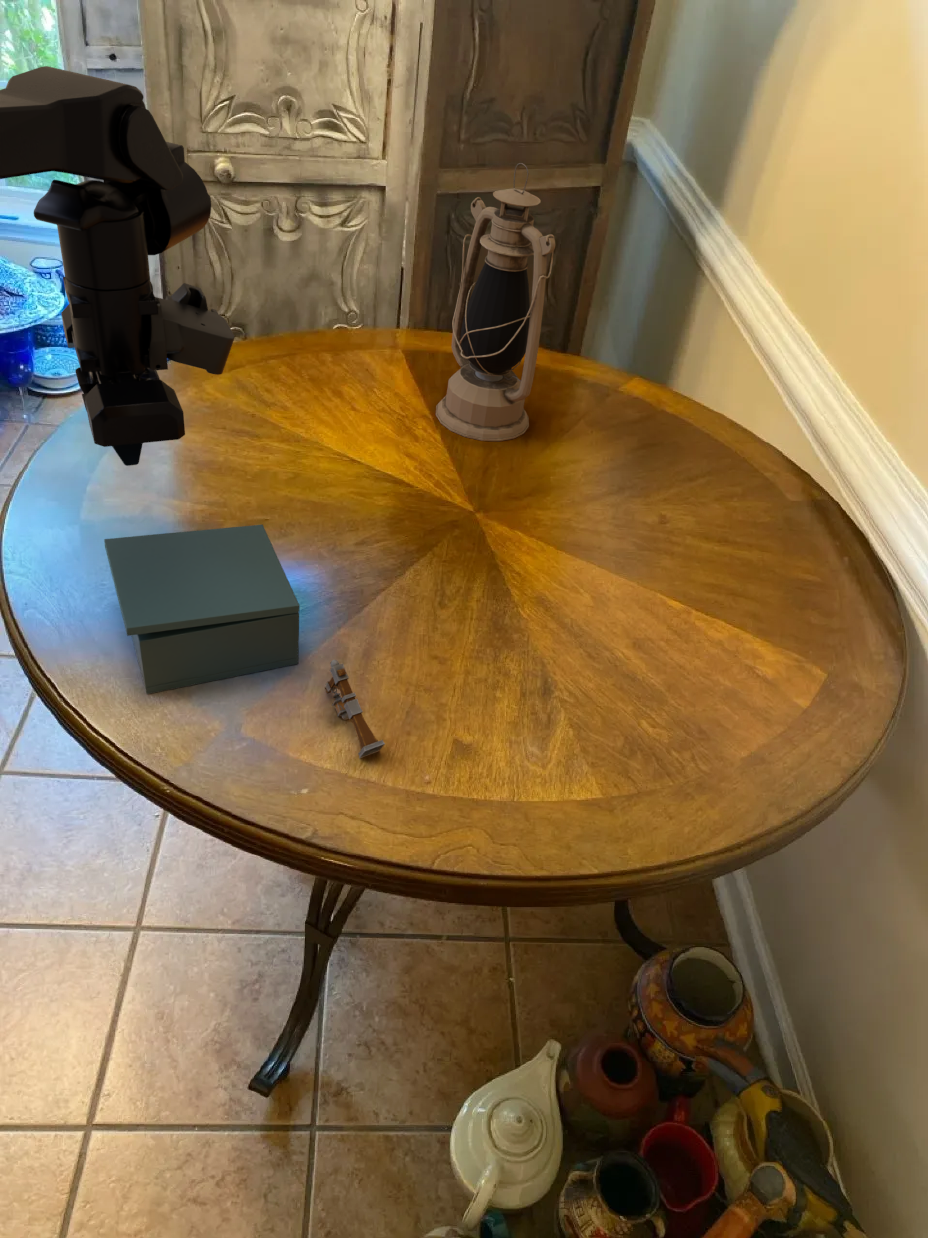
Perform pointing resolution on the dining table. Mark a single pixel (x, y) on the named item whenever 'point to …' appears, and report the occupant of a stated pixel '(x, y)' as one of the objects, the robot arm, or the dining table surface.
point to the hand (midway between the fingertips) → (131, 463)
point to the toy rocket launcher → (351, 709)
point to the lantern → (497, 321)
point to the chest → (216, 651)
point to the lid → (198, 578)
